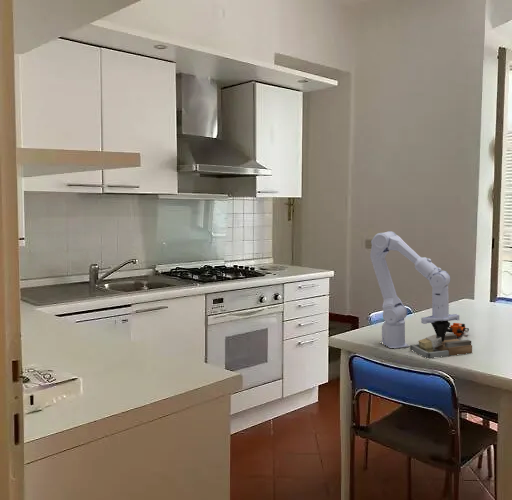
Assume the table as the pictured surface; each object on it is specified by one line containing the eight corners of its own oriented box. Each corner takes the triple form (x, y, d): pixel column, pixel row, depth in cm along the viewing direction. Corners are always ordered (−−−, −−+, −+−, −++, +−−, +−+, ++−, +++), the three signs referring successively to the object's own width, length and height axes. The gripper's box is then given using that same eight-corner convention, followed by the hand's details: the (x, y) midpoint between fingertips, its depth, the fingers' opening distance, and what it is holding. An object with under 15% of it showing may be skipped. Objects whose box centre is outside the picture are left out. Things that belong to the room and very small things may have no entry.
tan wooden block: (427, 348, 206) (420, 350, 205) (425, 338, 205) (418, 340, 205) (433, 351, 202) (426, 353, 201) (431, 340, 201) (424, 343, 201)
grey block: (426, 345, 206) (425, 337, 205) (436, 342, 206) (434, 334, 206) (433, 348, 202) (431, 340, 201) (442, 344, 203) (441, 337, 202)
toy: (443, 324, 222) (451, 316, 234) (443, 339, 222) (451, 330, 235) (464, 326, 218) (471, 317, 230) (464, 341, 218) (471, 332, 231)
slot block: (430, 347, 211) (430, 336, 210) (452, 345, 213) (452, 333, 213) (448, 356, 199) (448, 344, 199) (472, 353, 201) (472, 341, 201)
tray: (410, 350, 209) (410, 344, 208) (430, 347, 211) (430, 342, 211) (427, 359, 197) (427, 353, 197) (448, 356, 199) (448, 350, 199)
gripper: (428, 308, 198) (428, 345, 199) (464, 304, 201) (464, 341, 203) (418, 304, 204) (418, 341, 206) (453, 301, 208) (453, 337, 209)
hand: (440, 341), depth 205 cm, fingers closed
